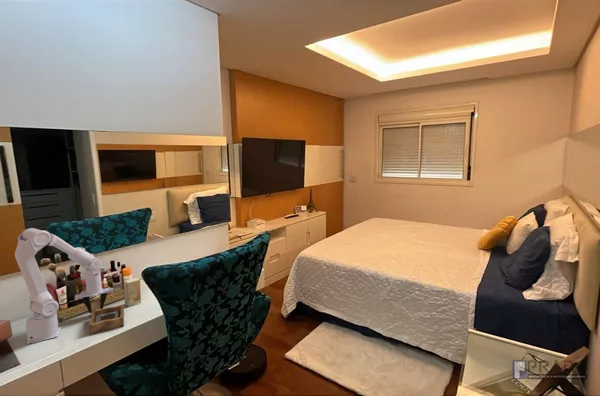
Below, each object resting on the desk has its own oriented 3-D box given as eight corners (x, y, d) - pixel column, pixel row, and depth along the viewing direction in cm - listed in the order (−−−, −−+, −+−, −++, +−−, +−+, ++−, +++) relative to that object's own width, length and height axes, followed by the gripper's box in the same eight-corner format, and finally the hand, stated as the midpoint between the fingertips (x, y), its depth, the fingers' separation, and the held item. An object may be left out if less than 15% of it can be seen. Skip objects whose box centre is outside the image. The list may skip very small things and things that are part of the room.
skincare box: (128, 307, 147) (126, 283, 145) (124, 304, 149) (122, 281, 148) (142, 302, 152) (140, 279, 150) (137, 300, 155) (136, 277, 153)
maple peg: (90, 317, 137) (89, 303, 136) (91, 314, 141) (90, 299, 140) (101, 315, 139) (100, 301, 138) (102, 311, 143) (100, 297, 142)
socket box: (89, 334, 124) (89, 325, 123) (93, 319, 136) (92, 310, 135) (123, 326, 130) (123, 317, 129) (124, 312, 142) (123, 304, 141)
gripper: (73, 289, 131) (75, 318, 132) (112, 282, 138) (114, 310, 140) (74, 283, 137) (77, 312, 138) (112, 277, 144) (114, 304, 146)
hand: (96, 310), depth 140 cm, fingers closed on maple peg, 4 cm apart
